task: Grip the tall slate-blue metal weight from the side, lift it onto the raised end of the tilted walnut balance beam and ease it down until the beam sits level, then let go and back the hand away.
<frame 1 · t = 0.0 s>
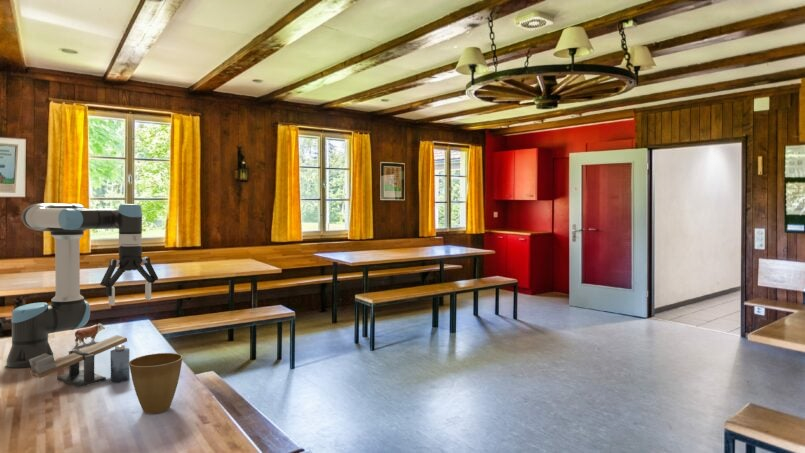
hand: (130, 302, 182), 28 cm above the table, tool pointing down, fingers open, 13 cm apart
beam: (80, 350, 178), point 11 cm above the table, hinge at 12.0°
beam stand: (81, 379, 179), on the table
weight: (120, 380, 179), on the table
bull figurine: (89, 343, 228), on the table
plant pot: (156, 410, 153), on the table
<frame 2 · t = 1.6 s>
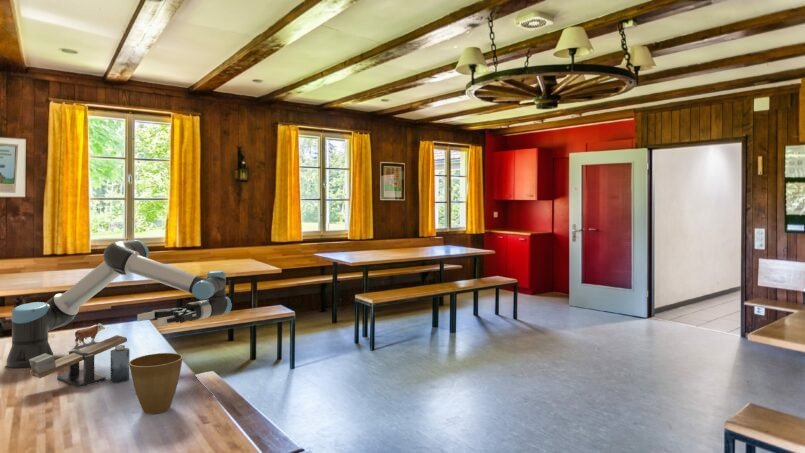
hand: (147, 319, 187), 20 cm above the table, tool horizontal, fingers open, 13 cm apart
nothing on the table moved.
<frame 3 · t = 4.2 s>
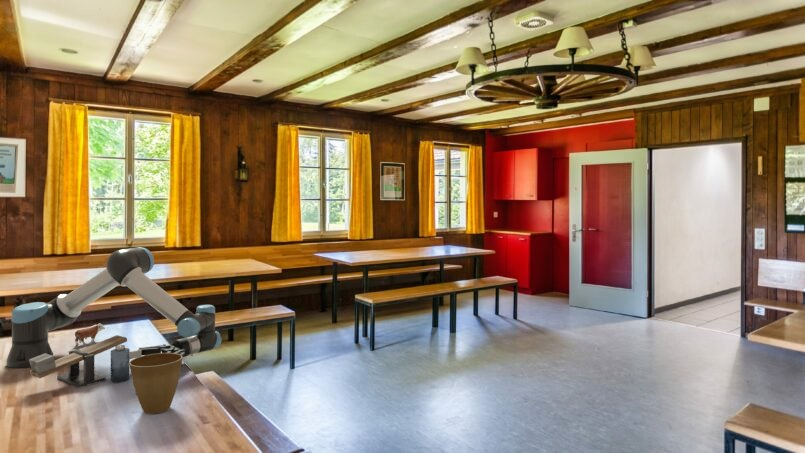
hand: (134, 360, 183), 6 cm above the table, tool horizontal, fingers open, 13 cm apart
nothing on the table moved.
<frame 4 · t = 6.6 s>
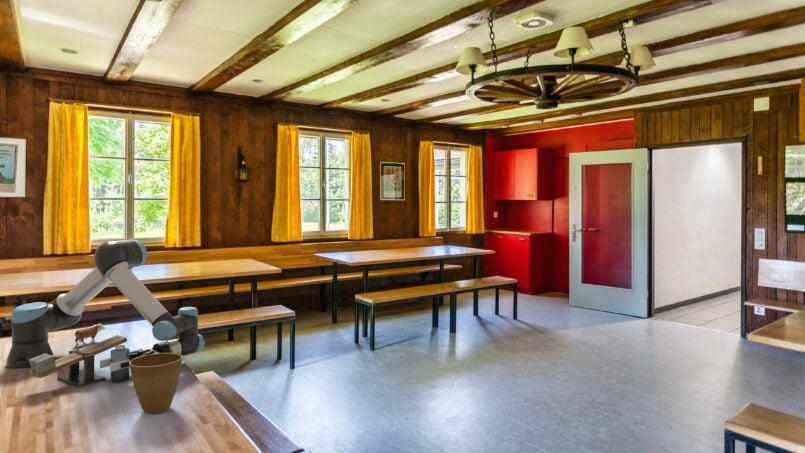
hand: (105, 366, 174), 7 cm above the table, tool horizontal, fingers closed on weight, 6 cm apart
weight: (120, 379, 179), on the table, touching gripper
everything else where it was.
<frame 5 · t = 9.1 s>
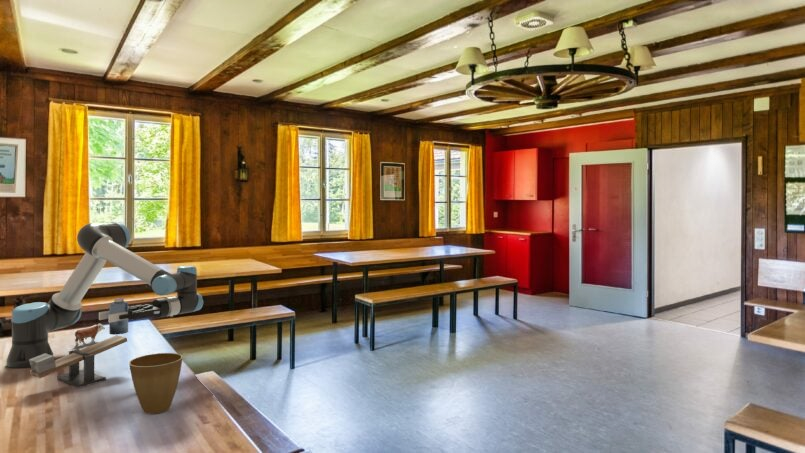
hand: (104, 317, 175), 24 cm above the table, tool horizontal, fingers closed on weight, 6 cm apart
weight: (118, 332, 180), point 17 cm above the table, touching gripper
everything else where it was.
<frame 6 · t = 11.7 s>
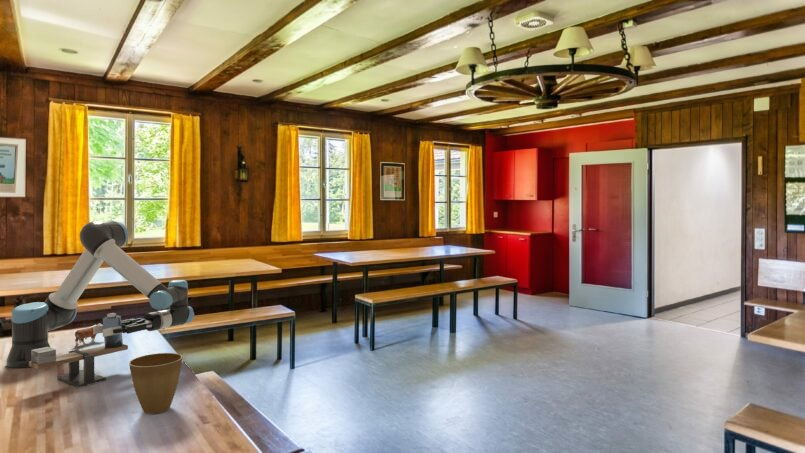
hand: (98, 331, 183), 16 cm above the table, tool horizontal, fingers closed on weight, 6 cm apart
beam: (81, 350, 179), point 11 cm above the table, hinge at -0.1°, touching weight
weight: (113, 345, 188), point 10 cm above the table, touching beam, gripper
everything else where it was.
when the fingers open (16 cm above the table, at t = 11.8 s): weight stays where it is, resting on beam.
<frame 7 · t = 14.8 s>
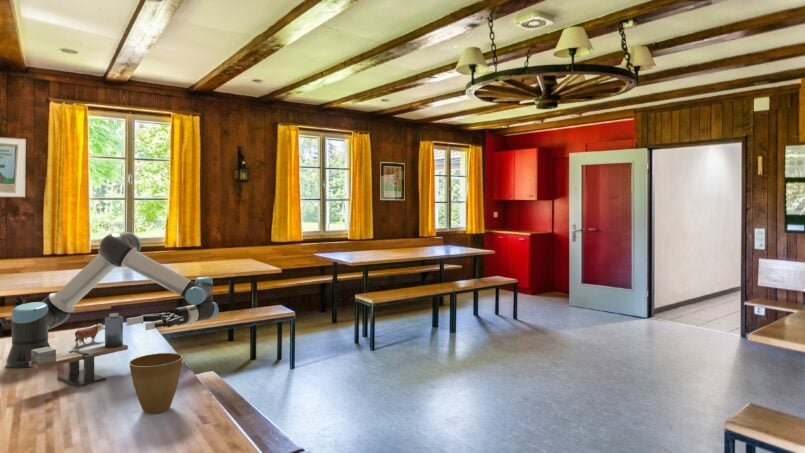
hand: (136, 324, 196), 16 cm above the table, tool horizontal, fingers open, 13 cm apart
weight: (114, 346, 188), point 10 cm above the table, touching beam
everything else where it was.
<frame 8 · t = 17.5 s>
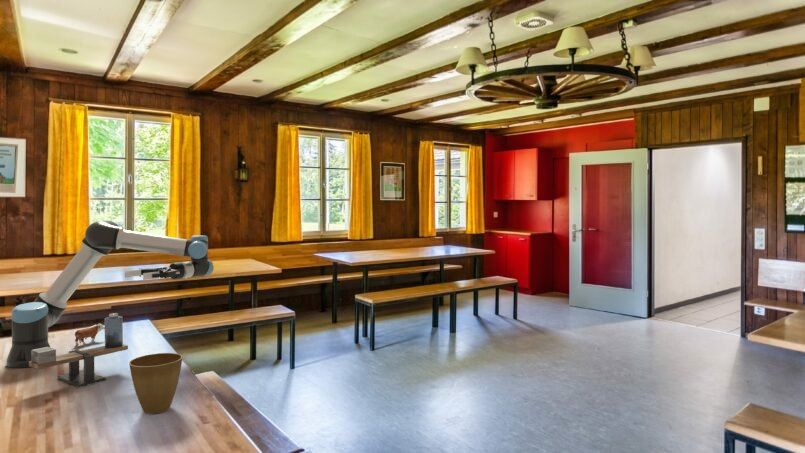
hand: (134, 275, 205), 35 cm above the table, tool horizontal, fingers open, 13 cm apart
nothing on the table moved.
at the end: beam at +0° (first picture: +12°); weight inside the target area on the beam (0.9 cm from its centre), point 0.7 cm above the beam's base; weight tilted 1° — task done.
